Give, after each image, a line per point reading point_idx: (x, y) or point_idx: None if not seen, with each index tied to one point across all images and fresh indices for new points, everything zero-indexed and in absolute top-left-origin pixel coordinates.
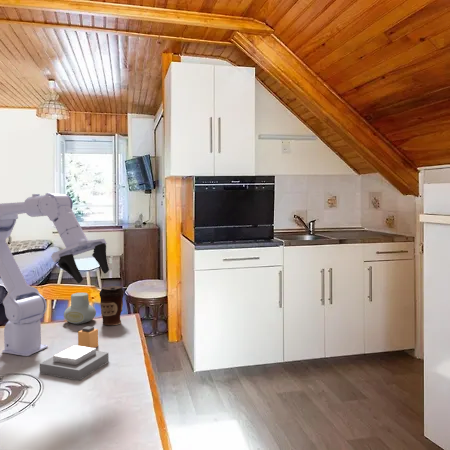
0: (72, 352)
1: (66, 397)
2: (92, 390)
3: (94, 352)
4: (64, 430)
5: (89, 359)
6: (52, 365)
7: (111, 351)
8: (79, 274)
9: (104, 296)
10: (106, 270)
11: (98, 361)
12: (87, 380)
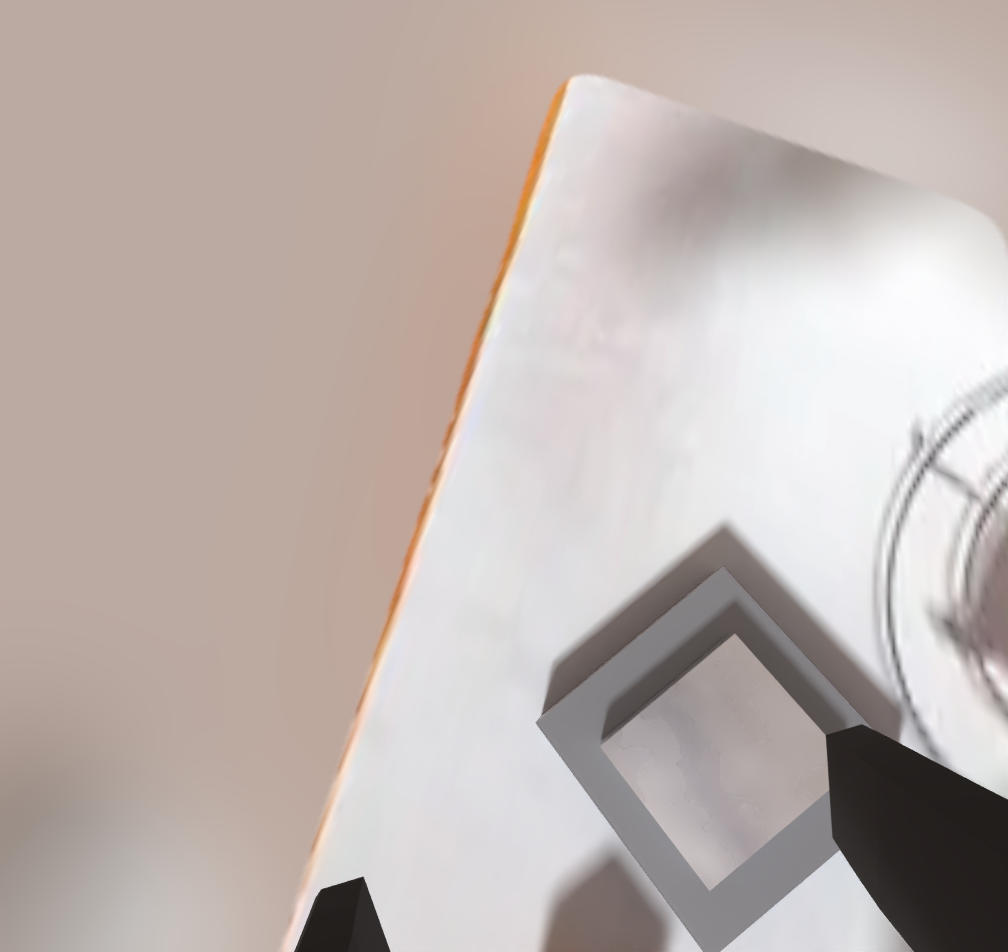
0: (738, 757)
1: (785, 438)
2: (678, 448)
3: (610, 735)
4: (813, 223)
5: (648, 680)
6: (848, 706)
7: (486, 859)
8: (929, 784)
9: None
10: (367, 902)
11: (604, 664)
12: (679, 551)
